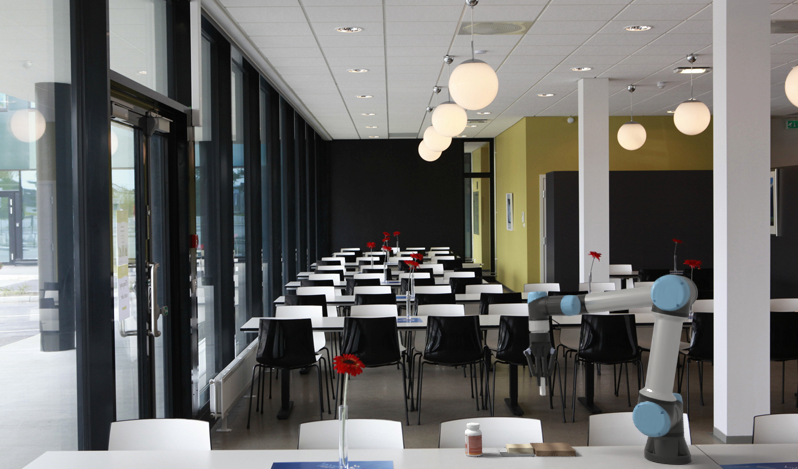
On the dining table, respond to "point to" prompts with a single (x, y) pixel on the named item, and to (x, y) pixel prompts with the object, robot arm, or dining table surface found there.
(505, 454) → the grey square plate
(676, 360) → the robot arm
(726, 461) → the dining table surface
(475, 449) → the pill bottle
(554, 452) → the board
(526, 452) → the birch tile
